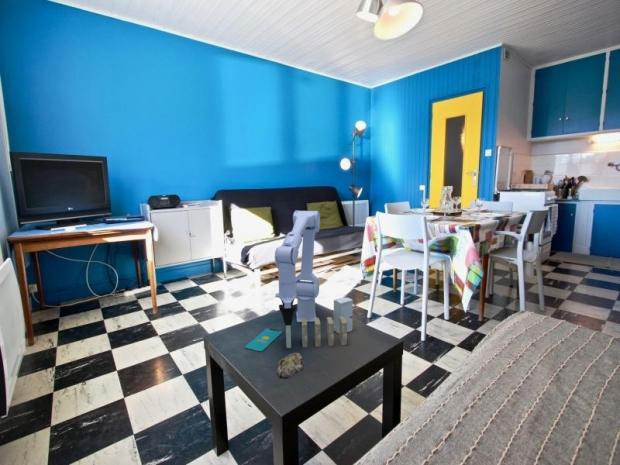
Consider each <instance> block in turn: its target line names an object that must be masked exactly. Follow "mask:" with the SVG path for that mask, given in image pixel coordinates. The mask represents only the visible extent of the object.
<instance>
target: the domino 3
mask: <svg viewBox="0 0 620 465" xmlns="http://www.w3.org/2000/svg"><path fill="white" fill-rule="evenodd" d="M313 323H314V324H313V325H314V329H313V330H314V336H313V337H314V343H315V344H314V345H315V347H321V341H322V340H321V321H320V318H319V317H316V318H314V321H313Z"/></svg>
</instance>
